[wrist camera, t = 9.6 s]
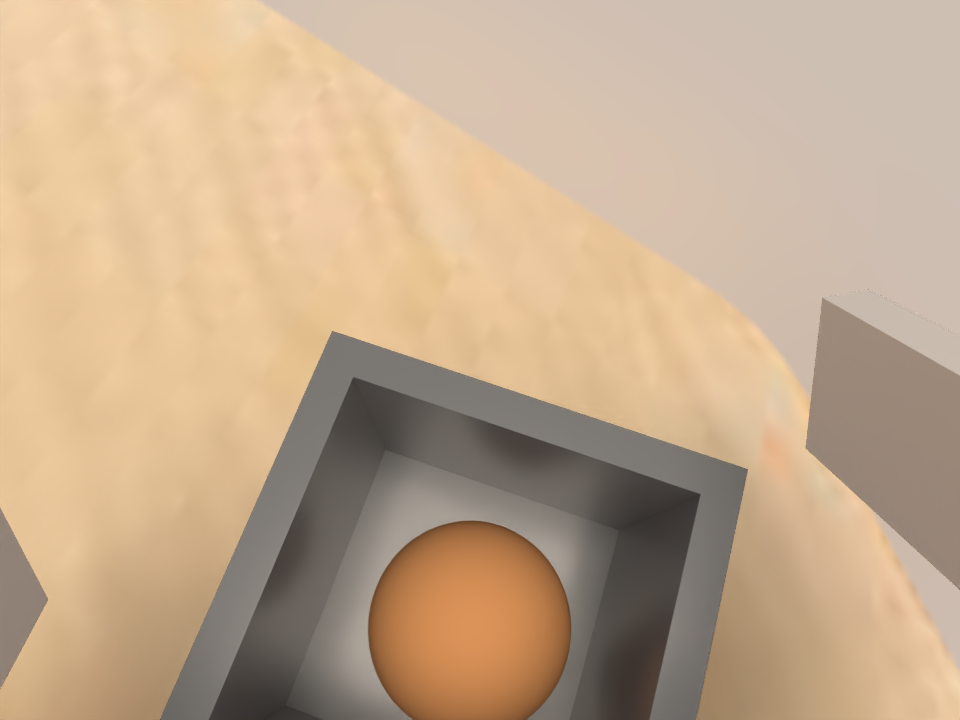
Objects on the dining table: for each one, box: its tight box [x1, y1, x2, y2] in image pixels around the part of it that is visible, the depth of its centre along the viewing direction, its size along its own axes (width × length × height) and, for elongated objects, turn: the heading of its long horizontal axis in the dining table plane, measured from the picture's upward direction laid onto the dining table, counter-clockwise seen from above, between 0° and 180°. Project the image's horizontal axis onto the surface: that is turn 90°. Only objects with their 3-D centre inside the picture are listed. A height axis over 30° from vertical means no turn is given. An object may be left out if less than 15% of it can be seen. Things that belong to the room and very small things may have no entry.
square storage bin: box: [160, 331, 748, 720], centre depth 17 cm, size 9×9×8 cm
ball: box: [368, 521, 571, 720], centre depth 17 cm, size 5×5×5 cm
